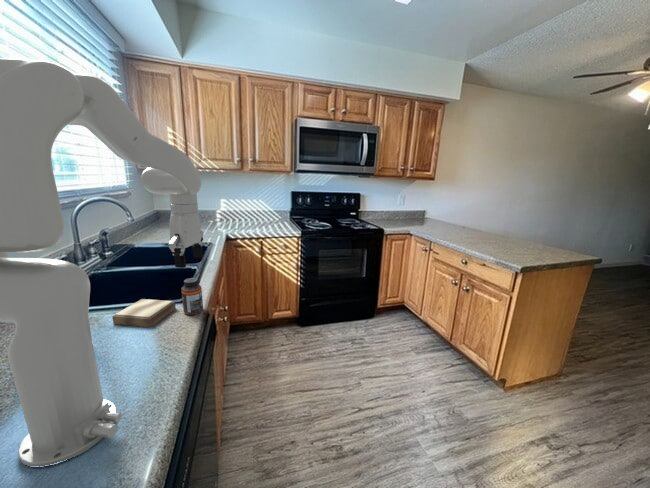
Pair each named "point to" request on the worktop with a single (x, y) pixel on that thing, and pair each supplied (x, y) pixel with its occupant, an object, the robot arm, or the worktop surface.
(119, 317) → the light wooden flat block
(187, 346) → the worktop surface
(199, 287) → the supplement bottle
